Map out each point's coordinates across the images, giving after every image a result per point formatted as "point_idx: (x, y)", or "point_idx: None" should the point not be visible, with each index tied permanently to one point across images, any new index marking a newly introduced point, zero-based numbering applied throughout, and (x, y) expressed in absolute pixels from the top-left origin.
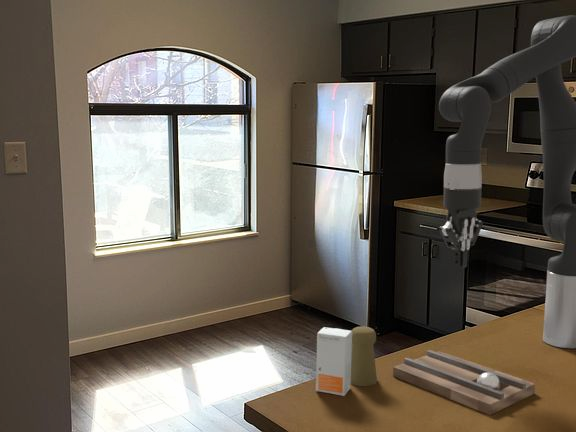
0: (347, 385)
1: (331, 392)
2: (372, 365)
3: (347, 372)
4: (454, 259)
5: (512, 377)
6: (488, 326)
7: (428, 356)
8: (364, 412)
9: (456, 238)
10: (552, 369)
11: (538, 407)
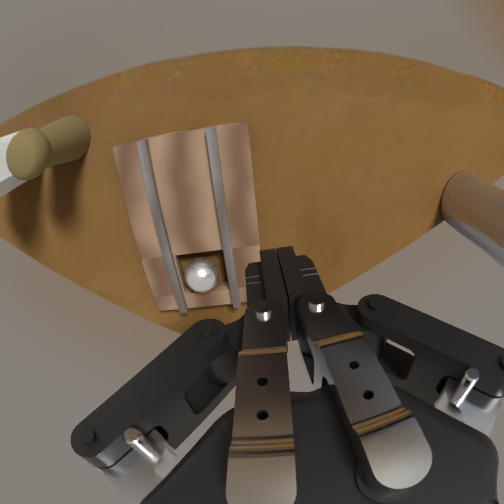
0: None
1: None
2: (60, 163)
3: (18, 181)
4: (246, 282)
5: None
6: (451, 79)
7: (204, 135)
8: (36, 227)
9: (198, 422)
10: (361, 252)
11: (231, 314)
